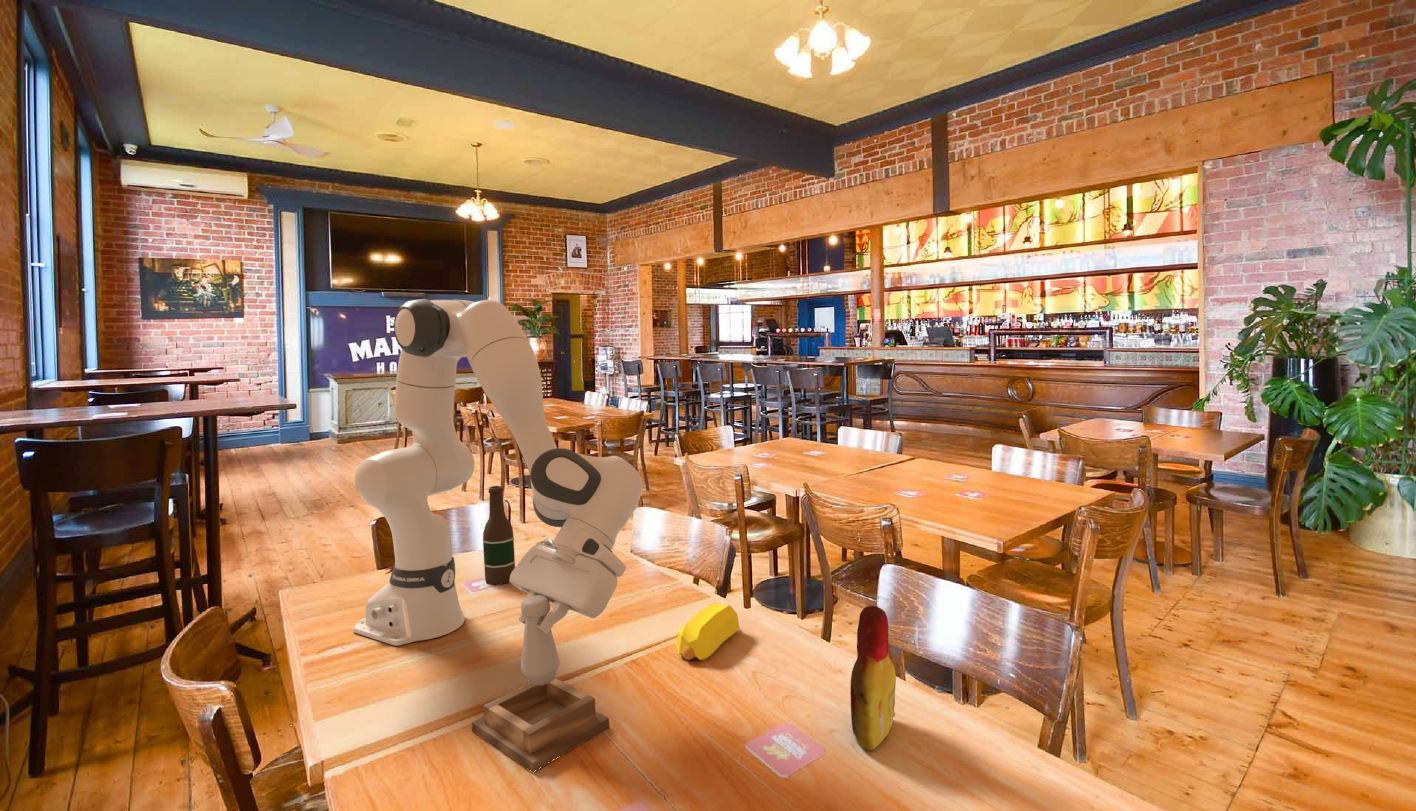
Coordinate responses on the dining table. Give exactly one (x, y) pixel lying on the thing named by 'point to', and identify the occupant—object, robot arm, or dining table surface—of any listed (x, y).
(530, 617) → the salt shaker
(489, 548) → the beer bottle
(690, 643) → the yellow faceted rounded part
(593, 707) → the board
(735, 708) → the dining table surface
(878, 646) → the bottle
